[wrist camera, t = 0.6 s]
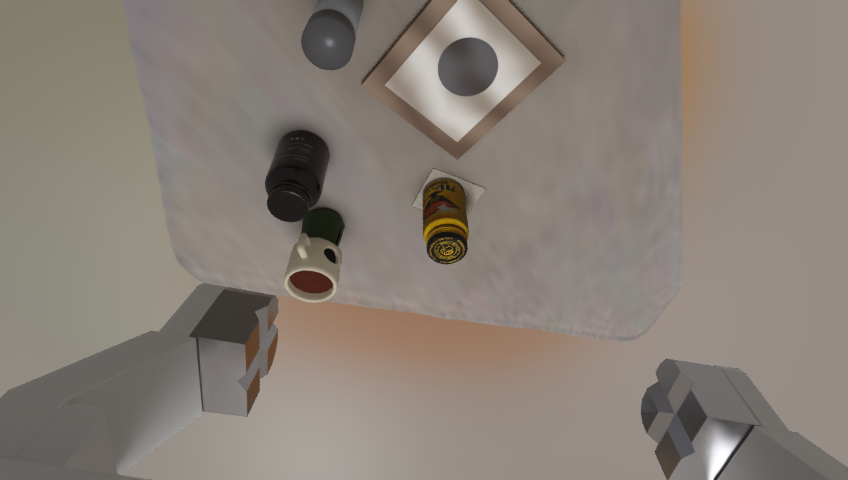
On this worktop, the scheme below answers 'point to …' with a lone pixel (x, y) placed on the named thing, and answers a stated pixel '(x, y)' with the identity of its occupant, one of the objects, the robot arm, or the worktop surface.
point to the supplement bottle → (296, 176)
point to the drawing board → (462, 69)
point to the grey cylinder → (332, 33)
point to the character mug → (315, 258)
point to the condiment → (446, 215)
